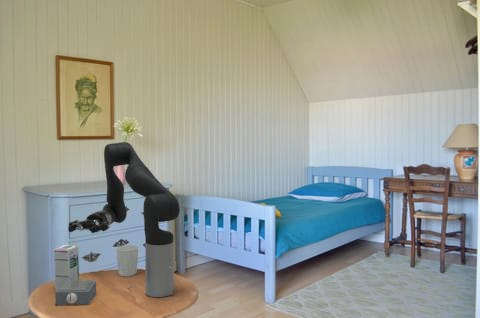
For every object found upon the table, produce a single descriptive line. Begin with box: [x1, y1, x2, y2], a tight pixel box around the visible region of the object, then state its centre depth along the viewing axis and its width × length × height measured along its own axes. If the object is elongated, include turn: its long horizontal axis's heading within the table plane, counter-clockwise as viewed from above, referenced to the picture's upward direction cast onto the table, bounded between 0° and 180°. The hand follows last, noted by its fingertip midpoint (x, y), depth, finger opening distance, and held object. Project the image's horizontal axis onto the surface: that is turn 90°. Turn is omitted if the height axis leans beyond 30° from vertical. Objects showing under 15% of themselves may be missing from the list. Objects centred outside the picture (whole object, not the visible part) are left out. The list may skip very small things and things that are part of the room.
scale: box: [54, 280, 97, 306], centre depth 141 cm, size 10×11×4 cm
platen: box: [60, 279, 93, 291], centre depth 142 cm, size 8×8×1 cm
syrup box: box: [53, 244, 80, 291], centre depth 151 cm, size 6×6×14 cm
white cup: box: [116, 244, 139, 277], centre depth 167 cm, size 8×8×10 cm
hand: (81, 229), depth 161 cm, fingers open, 8 cm apart
